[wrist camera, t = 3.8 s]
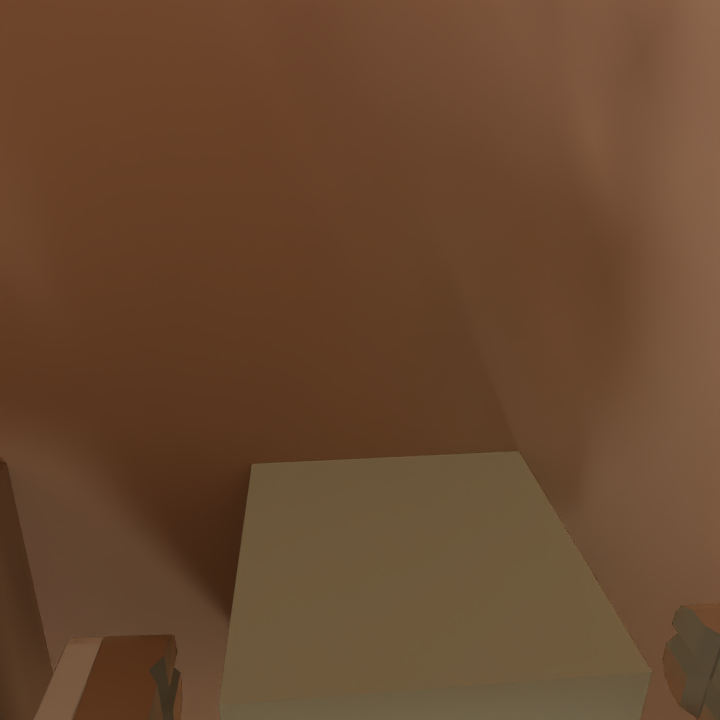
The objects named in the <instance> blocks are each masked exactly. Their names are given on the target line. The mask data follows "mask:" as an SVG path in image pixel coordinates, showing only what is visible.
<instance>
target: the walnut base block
mask: <svg viewBox="0 0 720 720" xmlns="http://www.w3.org/2000/svg"><path fill="white" fill-rule="evenodd" d="M52 676H53V672H52V667H51V663H50V658H49V654H48V649H47V645H46V640H45V636H44V631H43V627H42V622H41V618H40V613H39V608H38V604H37V599H36V595H35V590H34V586H33V581H32V577H31V572H30V568H29V563H28V559H27V554H26V550H25V545H24V541H23V536H22V532H21V527H20V523H19V518H18V514H17V509H16V504H15V500H14V495H13V491H12V486H11V482H10V477H9V473H8V468H7V464H6V463H0V720H33V719H34V717H35V715H36V712H37V710H38V708H39V706H40V703H41V701H42V699H43V696H44V694H45V692H46V689H47V687H48V685H49V682H50V680H51V678H52Z"/></svg>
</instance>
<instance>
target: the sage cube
mask: <svg viewBox="0 0 720 720" xmlns="http://www.w3.org/2000/svg"><path fill="white" fill-rule="evenodd" d="M651 674H652V671H651V669H650V668H649V666H648V664H647V663H646V661H645V659H644V658H643V656H642V654H641V653H640V651H639V650H638V648H637V646H636V645H635V643H634V641H633V640H632V638H631V636H630V635H629V633H628V631H627V630H626V628H625V626H624V625H623V623H622V621H621V620H620V618H619V616H618V615H617V613H616V611H615V610H614V608H613V606H612V605H611V603H610V601H609V600H608V598H607V596H606V595H605V593H604V592H603V590H602V588H601V587H600V585H599V583H598V582H597V580H596V578H595V577H594V575H593V573H592V572H591V570H590V568H589V567H588V565H587V563H586V562H585V560H584V558H583V557H582V555H581V553H580V552H579V550H578V548H577V547H576V545H575V543H574V542H573V540H572V538H571V537H570V535H569V534H568V532H567V530H566V529H565V527H564V525H563V524H562V522H561V520H560V519H559V517H558V515H557V514H556V512H555V510H554V509H553V507H552V505H551V504H550V502H549V500H548V499H547V497H546V495H545V494H544V492H543V490H542V489H541V487H540V485H539V484H538V482H537V481H536V479H535V477H534V476H533V474H532V472H531V471H530V469H529V467H528V466H527V464H526V462H525V461H524V459H523V457H522V456H521V454H520V452H519V451H507V452H487V453H466V454H445V455H424V456H403V457H382V458H362V459H341V460H320V461H299V462H278V463H257V464H252V466H251V474H250V481H249V488H248V496H247V503H246V510H245V517H244V525H243V532H242V539H241V546H240V554H239V561H238V568H237V575H236V583H235V590H234V597H233V604H232V612H231V619H230V626H229V634H228V641H227V648H226V655H225V663H224V670H223V677H222V684H221V692H220V699H219V712H220V719H221V720H640V718H641V714H642V710H643V706H644V702H645V698H646V694H647V690H648V686H649V682H650V678H651Z"/></svg>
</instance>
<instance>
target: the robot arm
mask: <svg viewBox="0 0 720 720" xmlns="http://www.w3.org/2000/svg"><path fill="white" fill-rule="evenodd" d="M672 624H673V626H674V627H675V629H676V630H677V632H678V634H676V635H675V636H674V637H673V638H672V639H671V640H670V641H669V642H668V643H667V644H666V648H665V652H664V657H663V664H664V671H665V677H666V680H667V683H668V685H669V688H670V691H671V692H672V694H673V696H674V698H675V699H676V701H677V703H678V704H679V706H680V707H682V708H683V709H685V710H686V711H687V712H689V713H690V714H692V715H693V716H694V717H696V720H720V603H716V604H701V605H686V606H681V607H680V608H679V609H678V610H677V611H676V612H675V615H674V619H673V622H672ZM176 656H177V647H176V641H175V636H173V635H138V636H107V637H89V638H72V640H71V641H70V642H69V643H68V644H67V645H66V647H65V648H64V650H63V652H62V655H61V657H60V659H59V662H58V664H57V666H56V669H55V671H54V673H53V676H52V678H51V680H50V682H49V685H48V687H47V689H46V692H45V694H44V696H43V699H42V701H41V703H40V706H39V708H38V710H37V712H36V715H35V717H34V719H33V720H181V709H182V681H181V673H180V672H179V671H178V670H177V669H176V668H174V665H175V661H176Z"/></svg>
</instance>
